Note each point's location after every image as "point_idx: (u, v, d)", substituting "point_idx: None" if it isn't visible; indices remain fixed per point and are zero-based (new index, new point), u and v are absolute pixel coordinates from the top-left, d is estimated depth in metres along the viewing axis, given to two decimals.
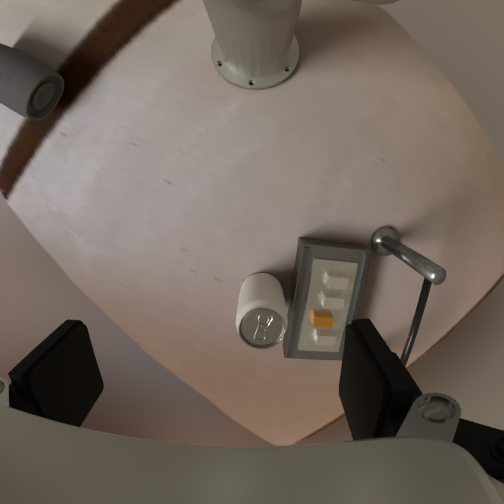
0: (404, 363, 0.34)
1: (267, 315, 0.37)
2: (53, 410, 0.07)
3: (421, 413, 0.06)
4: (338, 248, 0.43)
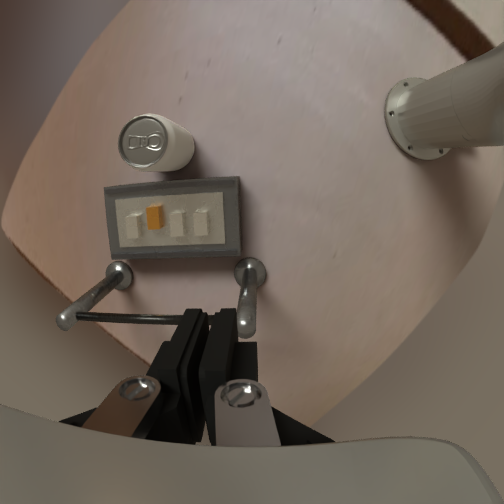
0: (130, 320, 0.31)
1: (159, 143, 0.30)
2: (196, 402, 0.08)
3: None
4: (237, 217, 0.40)
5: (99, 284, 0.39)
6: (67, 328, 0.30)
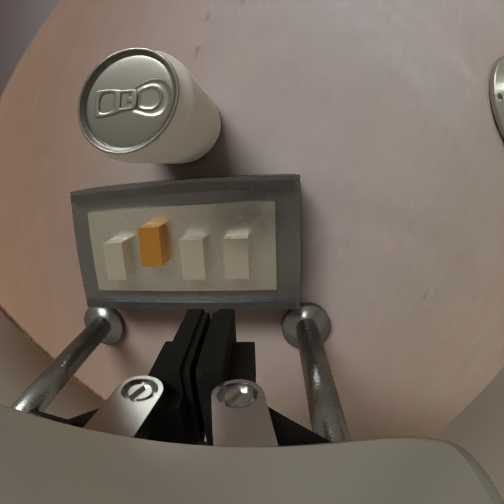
0: None
1: (159, 103, 0.14)
2: (198, 403, 0.08)
3: None
4: (298, 246, 0.23)
5: (70, 348, 0.23)
6: None
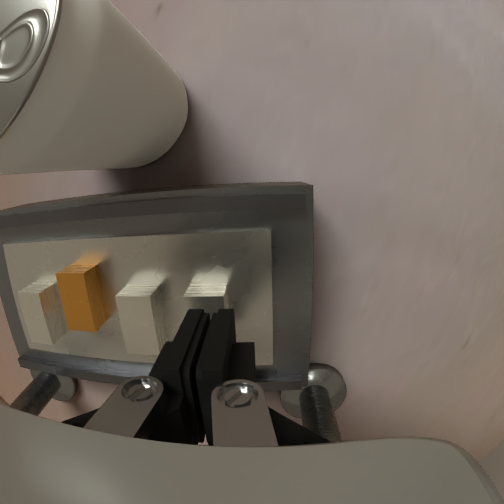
0: None
1: (28, 51, 0.05)
2: (198, 403, 0.08)
3: None
4: (309, 301, 0.14)
5: None
6: None
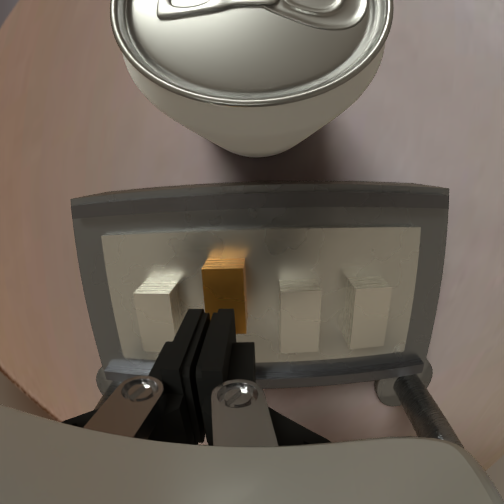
0: None
1: (341, 5, 0.05)
2: (198, 403, 0.08)
3: None
4: (437, 290, 0.14)
5: None
6: None
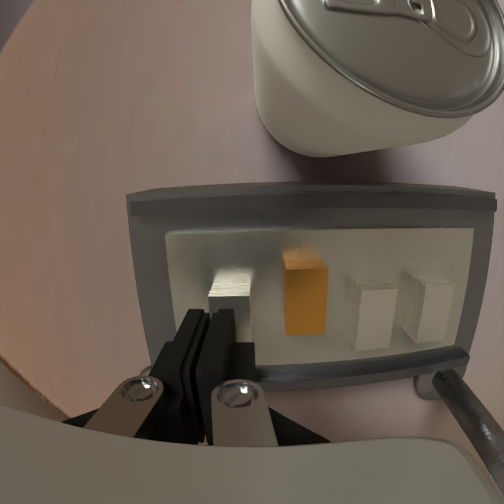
0: None
1: (474, 33, 0.04)
2: (198, 403, 0.08)
3: None
4: (483, 287, 0.14)
5: None
6: None
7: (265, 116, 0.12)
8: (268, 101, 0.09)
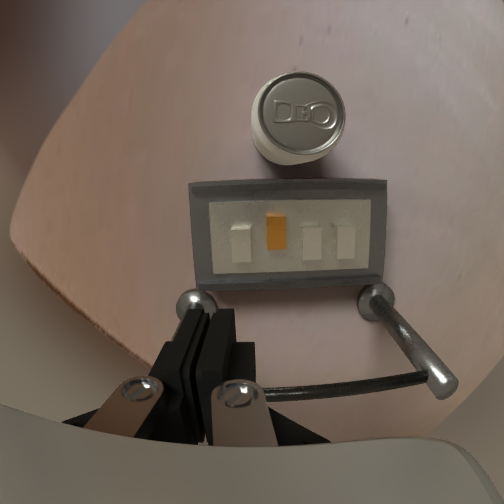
0: (279, 398, 0.19)
1: (328, 120, 0.19)
2: (198, 403, 0.08)
3: None
4: (384, 234, 0.28)
5: None
6: None
7: (257, 146, 0.27)
8: (258, 144, 0.24)
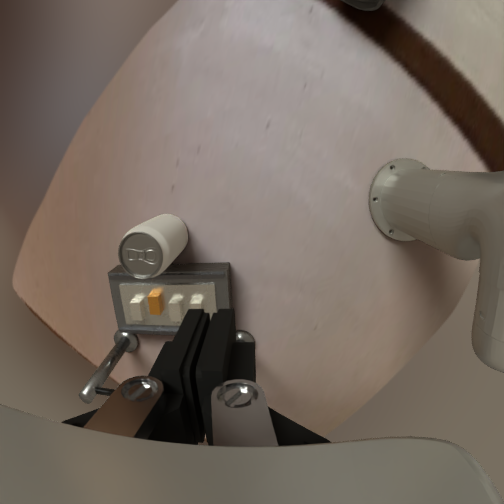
0: None
1: (155, 258, 0.35)
2: (198, 403, 0.08)
3: None
4: (228, 305, 0.45)
5: (110, 355, 0.44)
6: (89, 402, 0.35)
7: None
8: None
